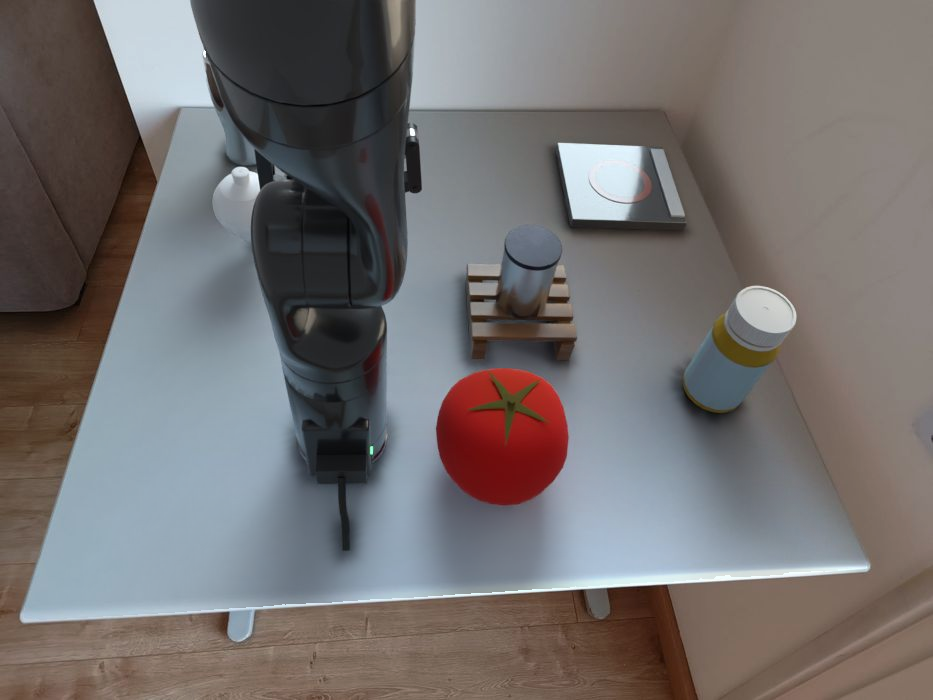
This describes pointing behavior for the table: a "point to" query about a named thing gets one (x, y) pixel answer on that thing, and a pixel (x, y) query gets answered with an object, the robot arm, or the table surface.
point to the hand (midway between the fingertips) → (346, 220)
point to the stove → (619, 187)
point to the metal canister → (527, 271)
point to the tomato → (502, 435)
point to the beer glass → (229, 125)
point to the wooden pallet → (482, 311)
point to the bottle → (739, 349)
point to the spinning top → (236, 201)
